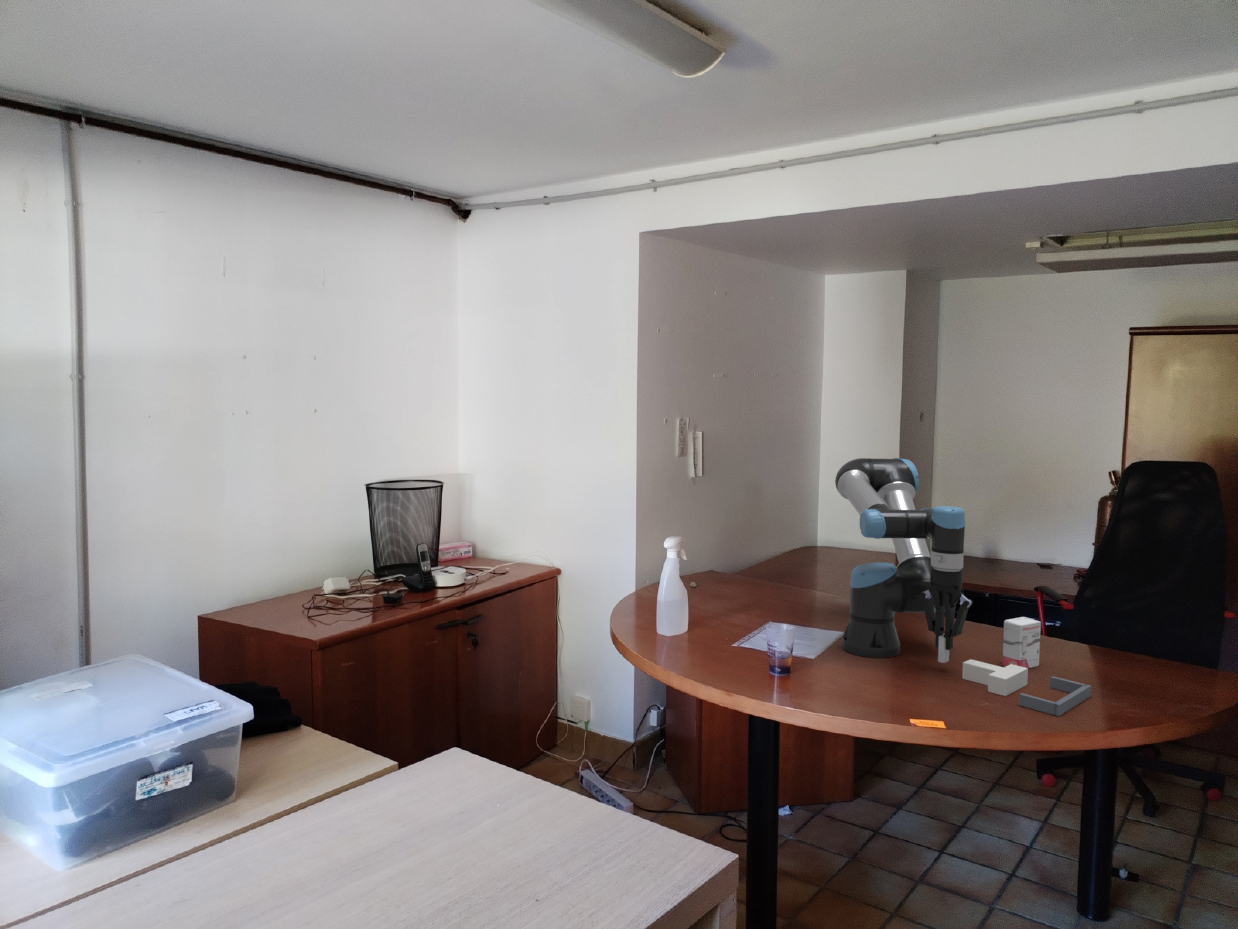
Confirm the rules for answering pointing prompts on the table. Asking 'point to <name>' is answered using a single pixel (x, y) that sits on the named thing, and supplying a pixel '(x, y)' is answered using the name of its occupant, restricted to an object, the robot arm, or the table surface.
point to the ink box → (1021, 642)
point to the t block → (996, 676)
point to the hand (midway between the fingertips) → (943, 661)
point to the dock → (1058, 708)
